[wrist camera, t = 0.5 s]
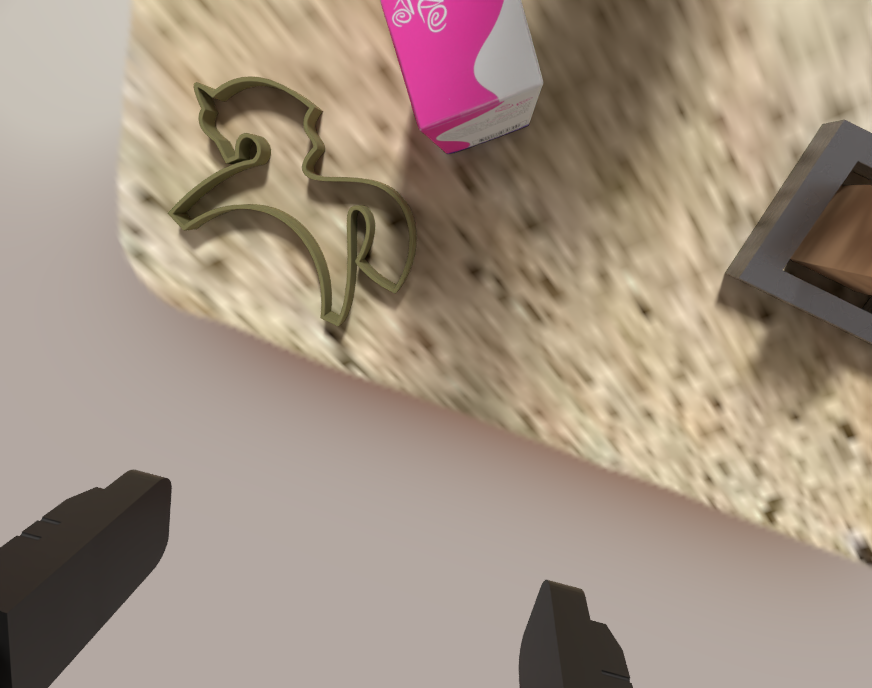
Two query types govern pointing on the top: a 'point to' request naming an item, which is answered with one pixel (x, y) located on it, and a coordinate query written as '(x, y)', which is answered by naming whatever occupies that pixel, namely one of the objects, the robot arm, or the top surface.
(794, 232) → the gray slotted board
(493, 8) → the supplement box
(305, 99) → the cookie cutter
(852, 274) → the block
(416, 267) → the top surface
